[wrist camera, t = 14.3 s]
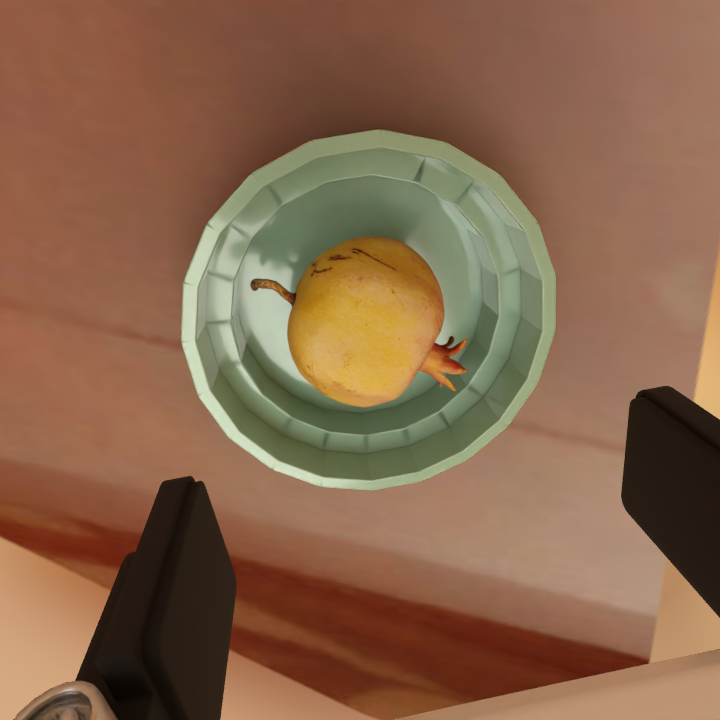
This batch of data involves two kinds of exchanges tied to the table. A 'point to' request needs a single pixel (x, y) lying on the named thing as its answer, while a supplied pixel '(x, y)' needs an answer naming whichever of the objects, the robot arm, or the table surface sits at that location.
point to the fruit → (367, 321)
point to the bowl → (327, 229)
